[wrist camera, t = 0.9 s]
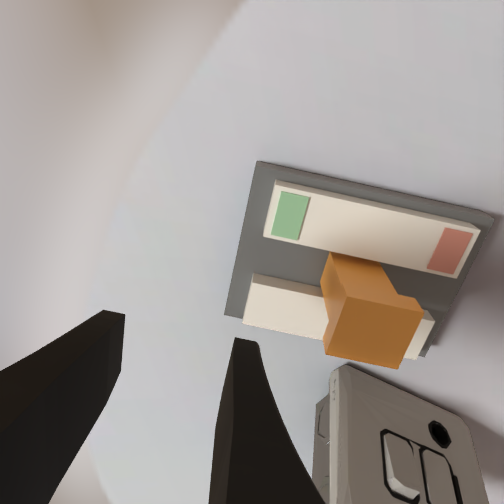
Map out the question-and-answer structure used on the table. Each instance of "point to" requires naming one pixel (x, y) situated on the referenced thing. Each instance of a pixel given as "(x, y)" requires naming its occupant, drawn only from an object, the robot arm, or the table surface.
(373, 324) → the breaker handle
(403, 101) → the table surface
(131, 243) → the table surface
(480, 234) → the breaker base
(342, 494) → the electrical switch
